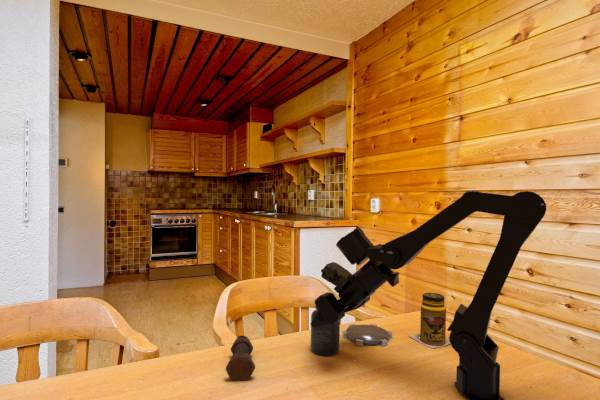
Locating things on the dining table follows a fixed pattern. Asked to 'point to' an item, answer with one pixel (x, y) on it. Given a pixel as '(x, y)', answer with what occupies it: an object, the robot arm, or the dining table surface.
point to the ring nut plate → (367, 335)
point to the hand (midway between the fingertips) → (321, 320)
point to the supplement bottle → (325, 338)
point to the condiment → (432, 321)
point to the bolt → (240, 360)
